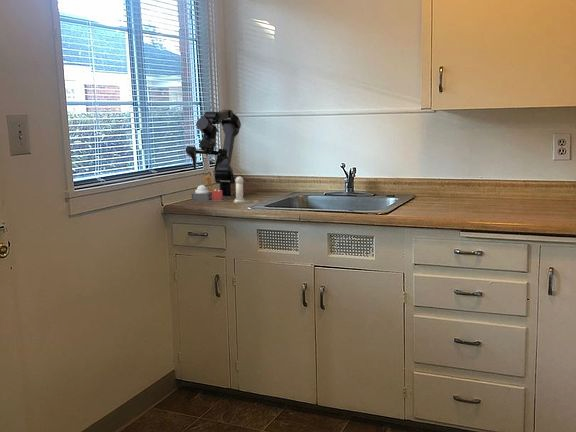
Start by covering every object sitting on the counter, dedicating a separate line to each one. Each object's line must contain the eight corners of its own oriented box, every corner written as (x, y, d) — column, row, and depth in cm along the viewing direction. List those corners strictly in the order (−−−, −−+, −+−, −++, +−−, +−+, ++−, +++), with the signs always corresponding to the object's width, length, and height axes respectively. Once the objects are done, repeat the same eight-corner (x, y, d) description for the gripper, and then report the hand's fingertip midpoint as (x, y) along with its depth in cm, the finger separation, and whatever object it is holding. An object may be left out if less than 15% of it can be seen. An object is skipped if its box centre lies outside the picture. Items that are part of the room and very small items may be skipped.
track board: (235, 206, 278) (235, 203, 278) (230, 204, 284) (230, 201, 283) (270, 204, 285) (270, 201, 285) (264, 202, 291) (264, 199, 290)
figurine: (221, 199, 301) (220, 173, 299) (214, 200, 296) (213, 174, 294) (206, 197, 305) (206, 172, 303) (199, 199, 300) (198, 173, 298)
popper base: (195, 200, 294) (195, 188, 293) (227, 201, 293) (227, 188, 292) (191, 203, 286) (190, 190, 285) (224, 204, 284) (224, 191, 284)
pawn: (235, 201, 284) (235, 175, 282) (245, 201, 284) (245, 176, 282) (233, 202, 280) (233, 176, 278) (243, 203, 279) (243, 177, 278)
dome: (196, 194, 292) (196, 184, 292) (209, 194, 292) (209, 184, 291) (194, 196, 286) (193, 185, 286) (207, 196, 286) (207, 186, 285)
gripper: (185, 129, 283) (180, 163, 279) (227, 133, 282) (222, 166, 278) (190, 138, 294) (185, 170, 290) (230, 142, 292) (226, 174, 289)
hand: (204, 170), depth 287 cm, fingers open, 9 cm apart
